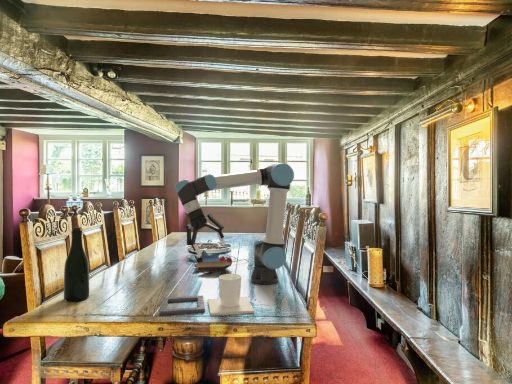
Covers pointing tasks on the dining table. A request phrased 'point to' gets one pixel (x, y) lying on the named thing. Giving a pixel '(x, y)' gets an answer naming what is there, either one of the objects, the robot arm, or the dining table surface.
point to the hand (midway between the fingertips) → (212, 250)
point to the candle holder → (229, 290)
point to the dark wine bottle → (76, 270)
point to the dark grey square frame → (182, 310)
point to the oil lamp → (211, 265)
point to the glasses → (228, 259)
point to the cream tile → (240, 309)
